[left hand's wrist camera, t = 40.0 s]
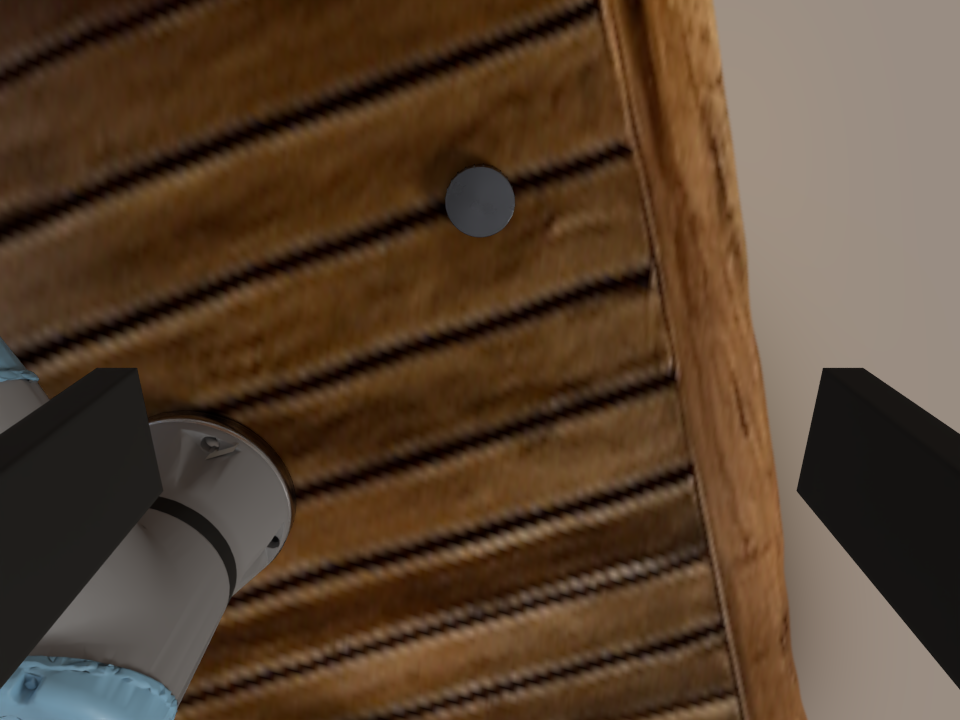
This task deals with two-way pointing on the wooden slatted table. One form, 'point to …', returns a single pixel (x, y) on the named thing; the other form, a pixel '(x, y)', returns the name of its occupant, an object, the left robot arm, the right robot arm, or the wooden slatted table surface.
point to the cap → (480, 200)
